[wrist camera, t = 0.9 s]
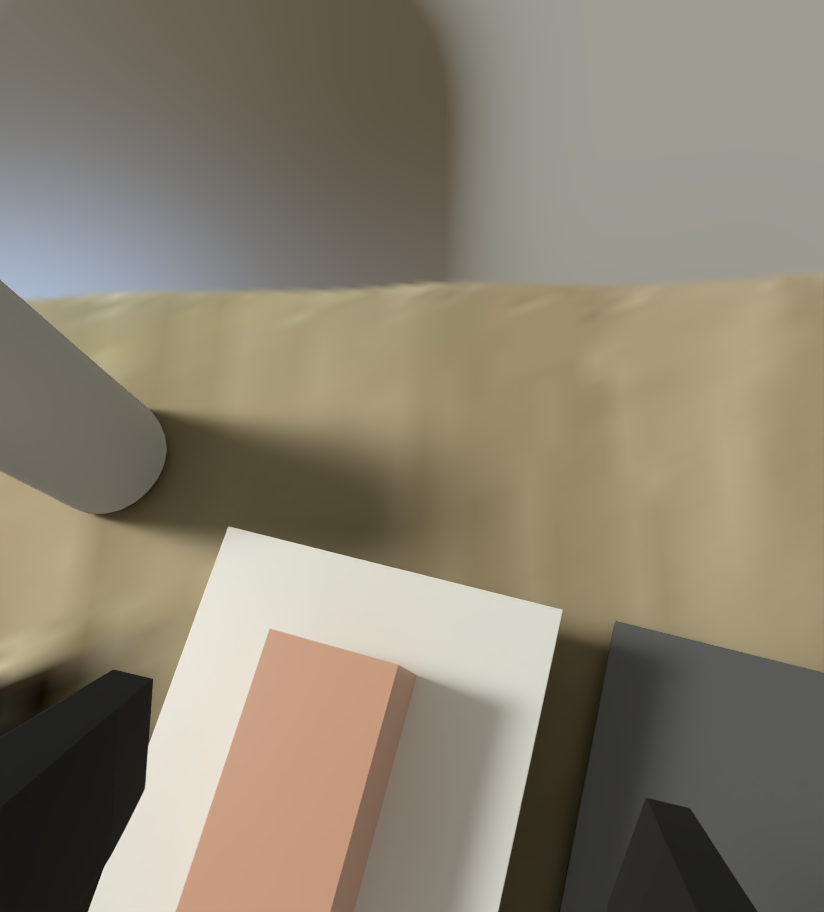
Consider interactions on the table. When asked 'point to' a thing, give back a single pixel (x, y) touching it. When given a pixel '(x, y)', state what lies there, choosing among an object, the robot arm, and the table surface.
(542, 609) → the lid
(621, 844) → the mat
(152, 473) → the beverage can
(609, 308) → the table surface
